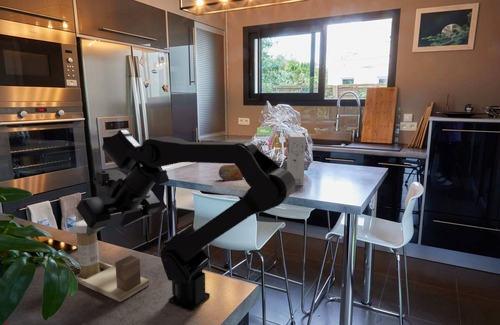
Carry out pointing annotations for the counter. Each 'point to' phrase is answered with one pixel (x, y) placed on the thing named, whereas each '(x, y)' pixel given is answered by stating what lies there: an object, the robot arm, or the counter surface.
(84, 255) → the sprinkles bottle
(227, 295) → the counter surface
